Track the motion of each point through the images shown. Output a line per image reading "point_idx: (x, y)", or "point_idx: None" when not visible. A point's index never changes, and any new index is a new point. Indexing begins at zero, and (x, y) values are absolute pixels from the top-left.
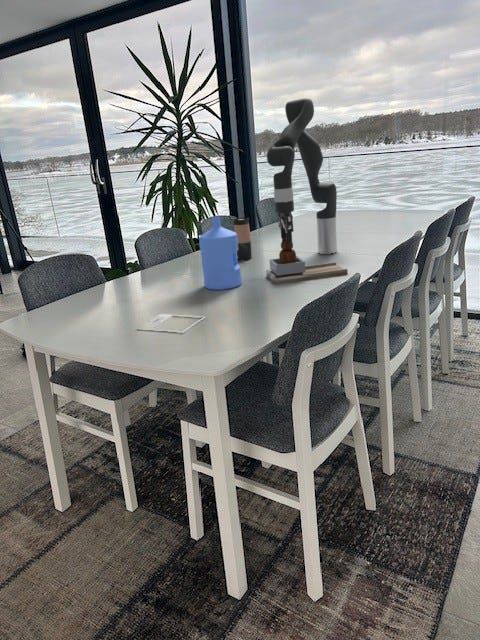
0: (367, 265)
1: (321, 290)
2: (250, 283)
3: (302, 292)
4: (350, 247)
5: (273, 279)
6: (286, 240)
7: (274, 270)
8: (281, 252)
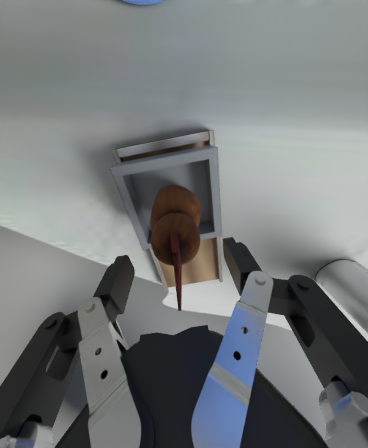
0: (207, 305)
1: (61, 243)
2: (138, 58)
3: (41, 211)
4: (333, 299)
5: (115, 149)
6: (122, 259)
7: (145, 158)
8: (164, 205)
